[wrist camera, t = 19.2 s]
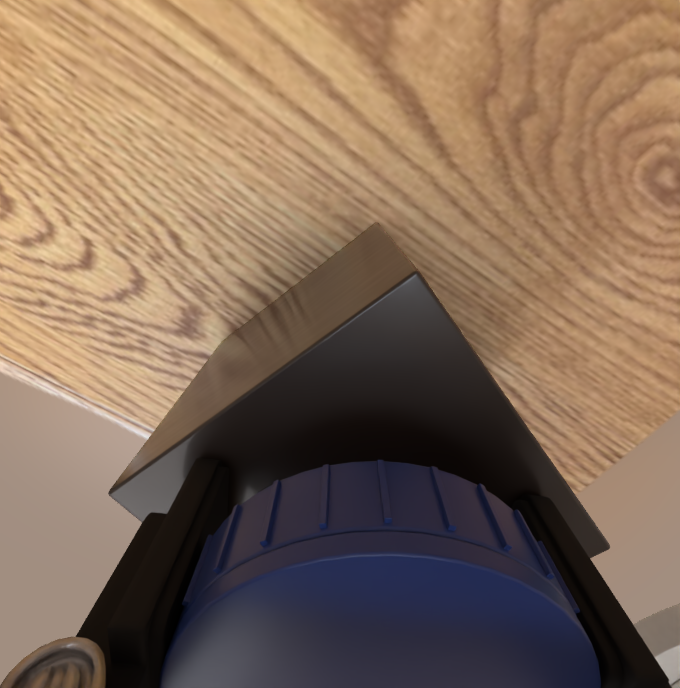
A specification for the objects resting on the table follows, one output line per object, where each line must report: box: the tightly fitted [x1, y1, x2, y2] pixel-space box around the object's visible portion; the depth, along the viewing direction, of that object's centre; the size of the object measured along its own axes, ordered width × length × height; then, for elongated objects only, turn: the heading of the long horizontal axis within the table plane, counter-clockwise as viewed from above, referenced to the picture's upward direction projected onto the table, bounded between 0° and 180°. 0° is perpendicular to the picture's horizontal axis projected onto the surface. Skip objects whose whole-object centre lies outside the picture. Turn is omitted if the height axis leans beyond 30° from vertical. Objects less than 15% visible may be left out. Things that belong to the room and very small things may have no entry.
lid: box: [159, 460, 601, 688], centre depth 7 cm, size 7×7×2 cm
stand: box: [108, 223, 610, 558], centre depth 15 cm, size 9×9×10 cm
